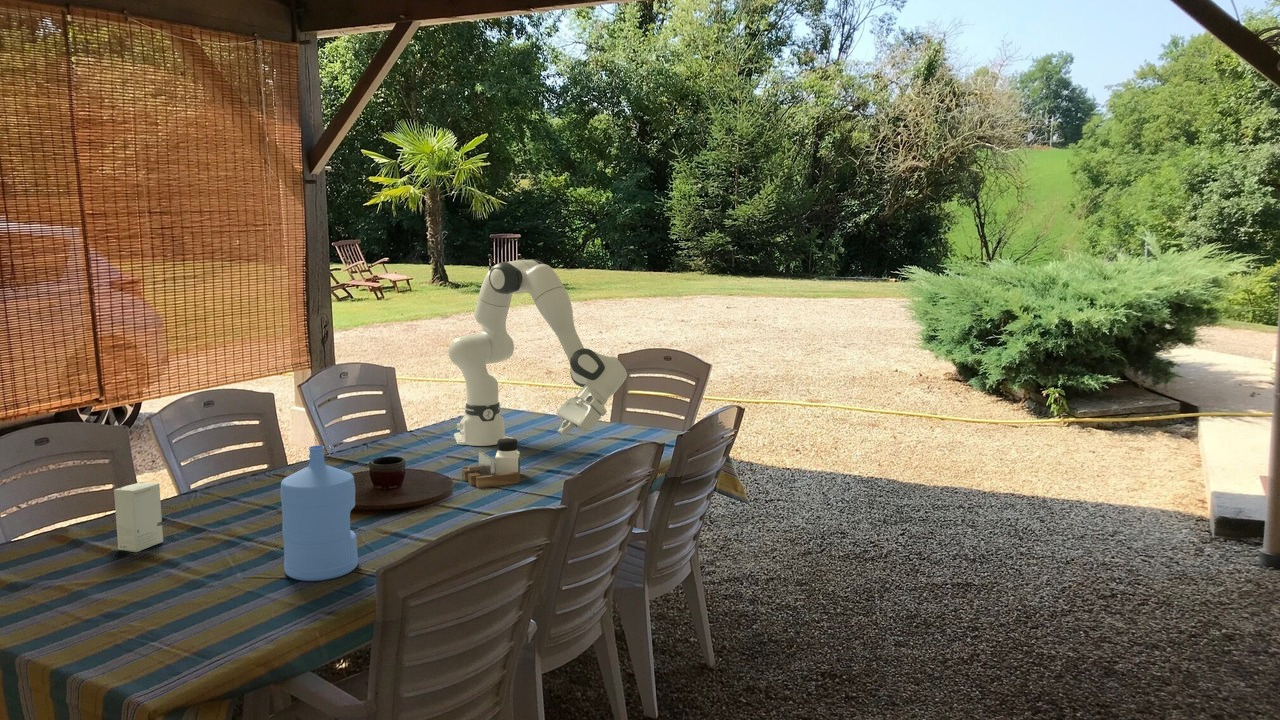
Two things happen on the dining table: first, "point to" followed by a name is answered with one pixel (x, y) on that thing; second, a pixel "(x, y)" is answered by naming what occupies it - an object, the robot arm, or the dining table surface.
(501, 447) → the medicine bottle
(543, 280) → the robot arm
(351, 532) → the water jug
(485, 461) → the block
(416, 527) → the dining table surface
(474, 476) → the lane
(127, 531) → the skincare box
